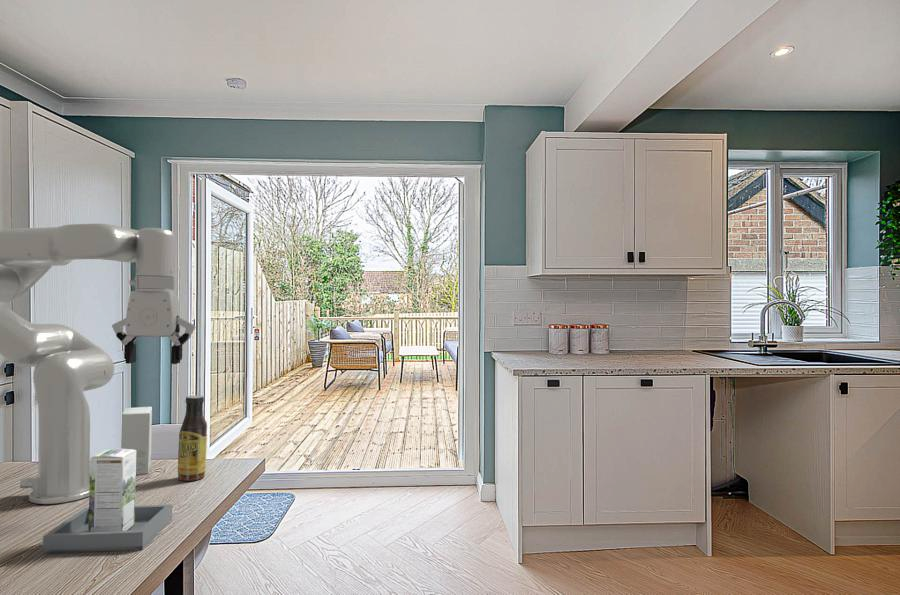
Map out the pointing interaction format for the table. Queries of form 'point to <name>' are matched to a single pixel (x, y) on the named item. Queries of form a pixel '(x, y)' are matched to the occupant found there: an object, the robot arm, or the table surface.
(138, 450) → the skincare box
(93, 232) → the robot arm
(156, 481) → the table surface
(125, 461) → the syrup box
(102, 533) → the tray
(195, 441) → the sauce bottle
